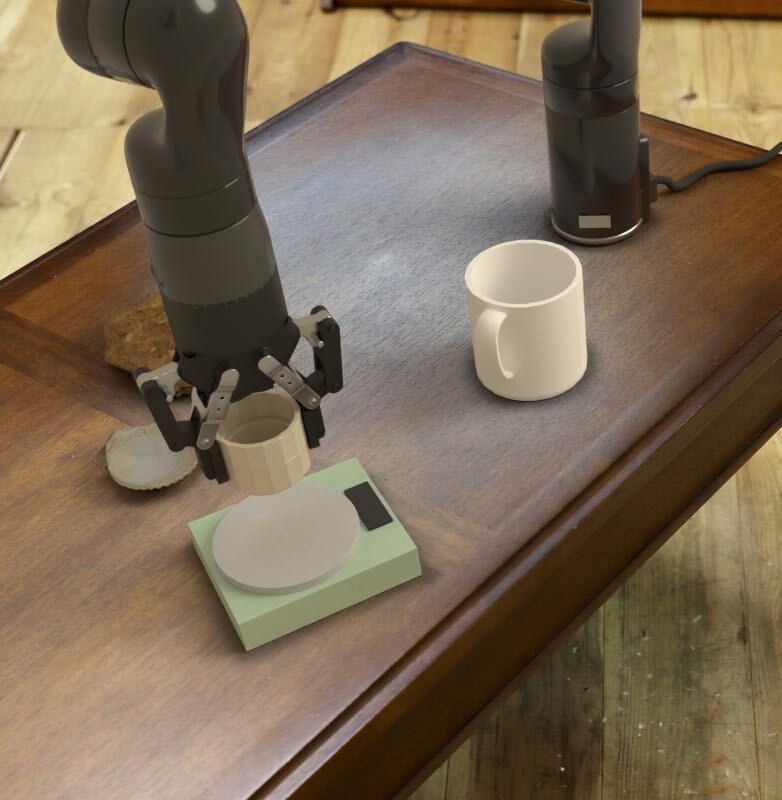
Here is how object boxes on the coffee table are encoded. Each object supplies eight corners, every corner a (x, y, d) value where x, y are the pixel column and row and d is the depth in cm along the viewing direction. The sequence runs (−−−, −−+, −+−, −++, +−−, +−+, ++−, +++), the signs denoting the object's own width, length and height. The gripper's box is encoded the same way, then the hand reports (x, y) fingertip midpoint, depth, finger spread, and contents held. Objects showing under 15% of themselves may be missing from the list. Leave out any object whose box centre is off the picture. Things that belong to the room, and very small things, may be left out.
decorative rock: (71, 372, 126) (198, 423, 121) (57, 339, 123) (187, 389, 118) (154, 300, 133) (278, 345, 128) (143, 266, 131) (269, 311, 125)
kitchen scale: (360, 483, 113) (353, 448, 111) (422, 574, 105) (415, 540, 103) (195, 550, 108) (184, 515, 105) (246, 652, 100) (235, 617, 97)
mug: (508, 322, 129) (498, 230, 122) (605, 347, 126) (601, 253, 119) (441, 403, 120) (427, 309, 114) (544, 432, 117) (536, 336, 110)
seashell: (177, 519, 113) (221, 441, 117) (169, 501, 111) (215, 422, 115) (86, 490, 114) (133, 414, 118) (76, 471, 112) (125, 394, 116)
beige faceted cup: (294, 430, 103) (281, 378, 99) (324, 478, 99) (313, 426, 95) (213, 461, 100) (198, 409, 97) (242, 512, 96) (226, 459, 93)
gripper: (120, 334, 83) (185, 529, 94) (342, 258, 88) (379, 452, 99) (88, 273, 88) (153, 466, 99) (300, 206, 93) (340, 395, 104)
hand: (266, 458), depth 99 cm, fingers closed on beige faceted cup, 6 cm apart
